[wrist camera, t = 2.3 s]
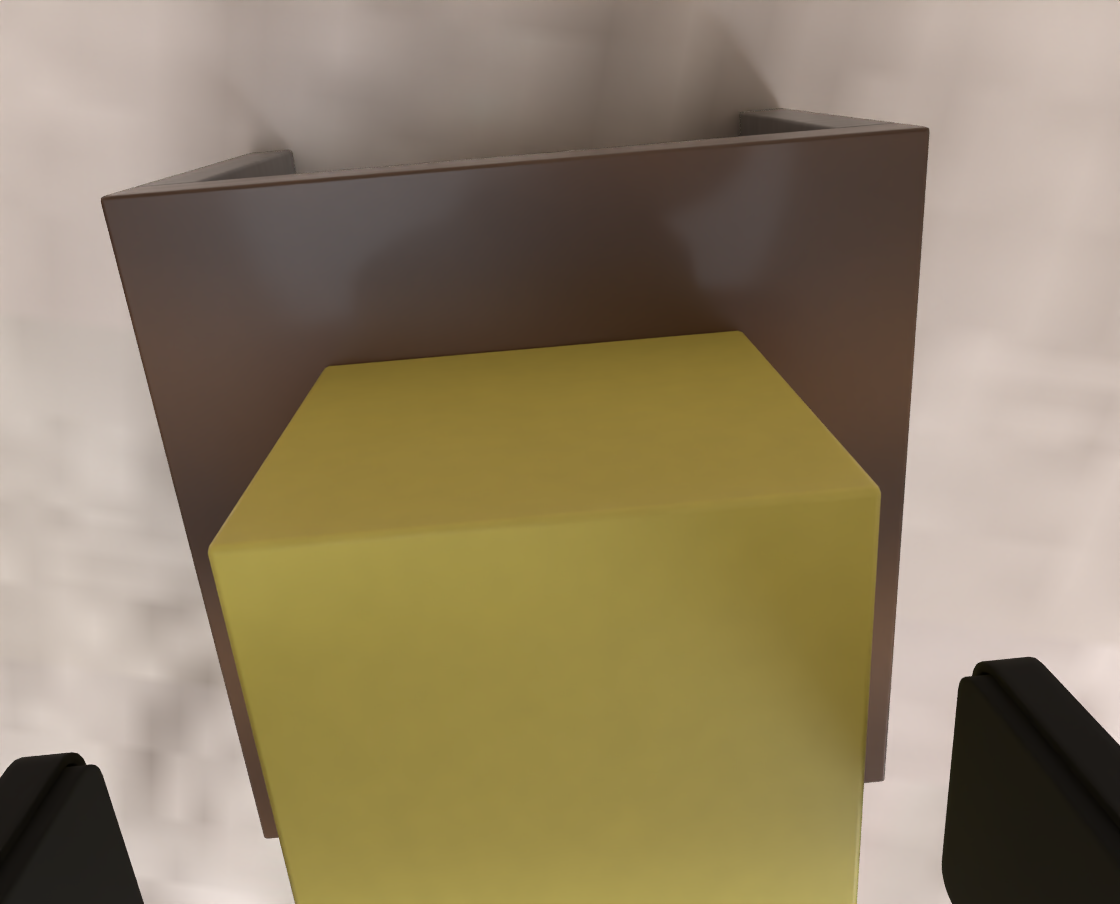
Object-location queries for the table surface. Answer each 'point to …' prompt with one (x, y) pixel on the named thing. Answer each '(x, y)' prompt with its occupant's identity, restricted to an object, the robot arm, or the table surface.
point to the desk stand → (529, 296)
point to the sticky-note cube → (558, 630)
